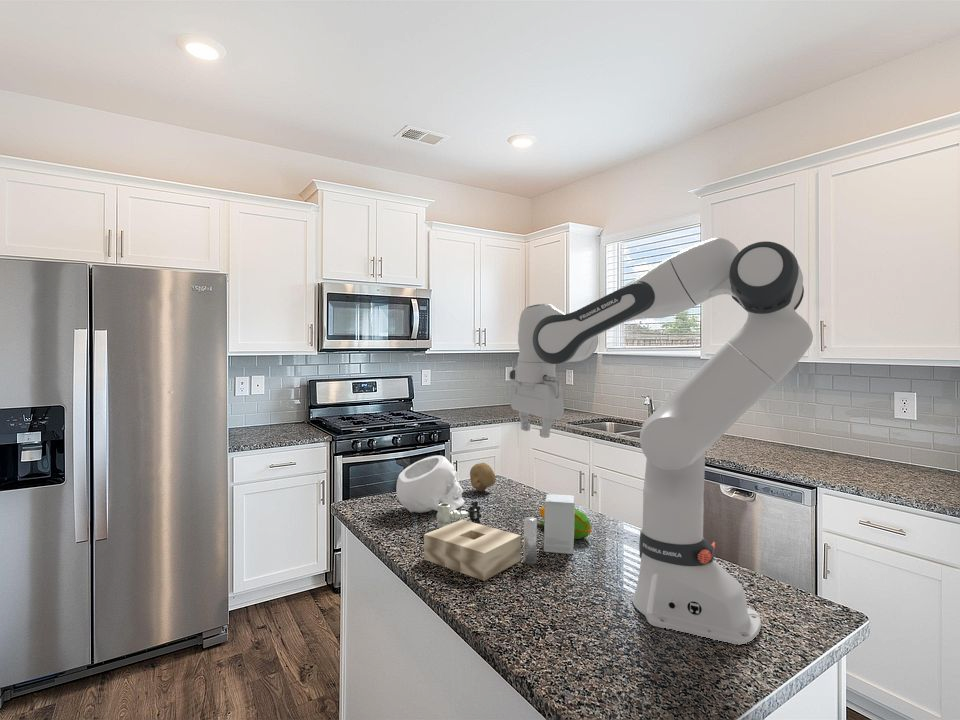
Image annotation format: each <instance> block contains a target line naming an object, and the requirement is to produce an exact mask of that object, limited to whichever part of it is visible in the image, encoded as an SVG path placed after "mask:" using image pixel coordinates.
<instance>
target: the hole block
mask: <svg viewBox="0 0 960 720" xmlns="http://www.w3.org/2000/svg"><path fill="white" fill-rule="evenodd" d="M473 522H474V521H471V520H470V521H469V520H466V519H460V520H457V521H454V522H453V523H450V524H449V525H447V526H444V527H442V528H439V529H434V530H431V531H429V532H427V533H424V534H423V560H424V561H427V562H429V561H430V563H432V564H435V565H439V566H441V567H444V568H446V567H447V568H448V569H450V570H453V571H454V572H455V571H456V572H458V573H461V574H464V575H466V576H469V577H472V578H474V579H478V580H481V581H484V582H486V581H487V580H488V579H490V578H493V577H494V576H496V575H498V574H500V573H502V572H503V571H505V570H506V569H508V568H510V567H512V566H514V565H516V564H518V563H519V562H520V561H521V554H522V553H521V552H522V551H521V548H522V547H521V545H522V543H521V542H522V535H521V534H517V533H513V532H510V531H505V530H503V529H498V528H495V527H491V526H487V525H484V524H481V523H480V524H477V523H473Z"/></svg>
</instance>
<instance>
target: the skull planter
mask: <svg viewBox="0 0 960 720" xmlns="http://www.w3.org/2000/svg"><path fill="white" fill-rule="evenodd" d="M458 477H459V473H458V471H456V470H455V467H454V464H453V463H451V462H450V461H449V460H448V459H447V458H446V457H445V455H444V456H443V455H440V454H439V455H437V454H436V455H431V456H427V457H425V458H422V459H419V460H418V461H415V462H414V463H412V464H410V465H408V466H406V468H404V469H403V470H402V471H401V472H400V473H399V475H398V477H397V480H396V486H395V487H396V496H397V499H398V500H399V501H398V502H400V504H401V505H402V506H403V507H404V508H405V509H406V510H407V511H409V513H411V514H413V513H418V514H422V513H427V512H431V511H432V510H433V511H437V512H438V504H439V503H448V504H450V505H451V510H450V511H452V510H457V509H459V508H462V507H463V505H464V504H465V500H464V499H463V497H462V495H463V494H462V493H464V489H463V488H462V486H461V485H460V483H461V482H460V481H459V480H458ZM412 512H413V513H412Z"/></svg>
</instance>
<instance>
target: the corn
mask: <svg viewBox="0 0 960 720" xmlns="http://www.w3.org/2000/svg"><path fill="white" fill-rule="evenodd" d="M538 510H539V511H538V512H539V515H540V516H541V518H542V519H543V520H544V521H545V505H544V506H542V507H540V508H539V509H538ZM544 521H542V520H538V522H539V523H541V524H542V525H543V526H544ZM592 528H593V527H592V525H591V522H590V519H589V518H588V516H587V514H586V513H584V512H582V511H580V510H578V509H576V508H575V516H574V540H580V539H584V538H587V537H589V535H590V534H591V533H592Z"/></svg>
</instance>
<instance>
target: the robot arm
mask: <svg viewBox="0 0 960 720" xmlns="http://www.w3.org/2000/svg"><path fill="white" fill-rule="evenodd" d="M804 293H805V289H804V275H803V272H802V269H801V267H800V264H799V263H798V260H797V257H796V256H795V254H794V253H793V252H792V251H791V250H790V249H789V248H788V247H786V246H784V245H782V244H780V243H777V242H774V241H766V240H765V241H758V242H755V243H752V244H749V245H747V246H745V247H744V248H742V249H740V250H739V249H738V247H737V246H736V245H735V244H734V243H733V242H732V241H730V240H728V239H726V238H723V237H713V238H710V239H708V240H705V241H702V242H699V243H697V244H694V245H692V246H690V247H688V248H685V249H683V250H681V251H678V252H677V253H675V254H673V255H671V256H670V257H668V258H665V259H664V260H662V261H661V262H659V263H658V264H655V266H653V267H652V268H649V269H648V270H647V271H645V272H644V273H642V274H641V275H639V276H638V277H636V278H634V279H633V280H631V281H629V282H628V283H626V284H625V285H623V286H622V287H620V288H618V289H617V290H614V291H613V292H611V293H609V294H607V295H605V296H603V297H601V298H599V299H597V300H594V301H592V302H591V303H589V304H587V305H585V306H583V307H581V308H579V309H577V310H574V311H572V312H568V313H564V312H563V311H561V310H559V309H558V308H556V307H555V306H554V305H553V304H550V303H540V304H539V303H538V304H533V305H529V306H527V307H526V308H524V309H523V310H522V311H521V314H520V317H519V322H518V331H517V332H518V333H517V336H518V337H517V344H518V351H519V353H518V357H517V365H516V366H515V367H514V368H512V369H511V370H509V372H508V379H509V381H510V383H509V401H510V403H509V404H510V407H511V409H512V410H516V411H518V417H519V421H520V429H521V431H524V432H530V430H531V423H530V421H529V416H530V415H532V416H535V417H536V416H537V417H539V418H541V422H542V426H541V428H540V429H539V436H540V437H541V438H550V434H551V432H550V431H551V428H552V426H553V424H554V420H562V418H564V417H563V416H564V413H565V411H564V410H565V408H564V407H565V406H564V405H565V404H564V395H563V394H564V393H563V388H562V386H561V383H560V382H559V381H558V378H557V377H556V365H558V364H562V363H571V362H572V363H573V362H580V361H584V360H586V359H589V358H590V357H591V356H593V354H594V353H595V351H596V350H597V348H598V344H599V337H598V336H599V335H601V334H602V333H604V332H607V331H609V330H610V329H613V328H615V327H617V326H620V325H622V324H624V323H626V322H628V323H629V322H631V321H635V320H642V319H643V320H644V319H664V318H668V317H671V316H674V315H677V314H680V313H683V312H685V311H688V310H690V309H692V308H695V307H696V306H698V305H699V304H701V303H704V302H706V301H708V300H710V299H711V298H712V299H713V298H715V297H716V296H720V295H722V296H723V295H727V296H729V295H730V296H731V298H732V299H733V300H734V301H735V302H736V303H737V304H738V305H740V306H741V308H743V309H744V310H745V311H746V312H747V318H746V321H745V323H744V324H743V326H742V327H741V328H740V329H739V330H737V332H736V333H735V334H734V335H733V336H732V337H731V338H730V339H729V340H727V342H726V343H724V344H723V345H722V347H721V348H719V350H717V351H716V352H715V353H714V354H713V355H712V356H711V357H710V358H709V359H708V360H707V361H706V362H705V363H704V364H703V365H702V366H701V367H700V368H699V369H698V370H697V371H696V372H695V373H694V374H692V376H691V377H690V378H688V379H687V380H686V381H685V382H684V383H683V384H682V385H681V386H680V387H679V388H678V389H677V390H676V391H675V392H674V393H673V394H672V395H670V397H669V398H667V400H665V401H664V402H663V403H662V404H661V405H660V406H659V407H658V408H657V409H656V410H655V411H654V412H653V413H652V414H651V415H650V416H649V417H647V419H646V420H645V421H644V422H643V424H642V426H641V428H640V432H639V443H640V447H641V451H642V453H643V454H644V456H645V458H646V459H645V460H646V462H645V474H644V482H643V488H642V526H641V527H642V529H640V531H639V540H638V541H639V543H638V544H639V545H638V551H639V558H640V565H639V571H638V578H637V583H636V587H635V590H634V593H633V597H632V603H633V605H634V607H635V608H636V610H638V611H639V612H640V613H641V614H642V615H644V617H645V619H646V620H647V621H646V622H648V623H649V624H650V625H651V626H653V627H656V628H661V629H664V628H666V630H669V629H673V630H678V631H681V632H686V633H690V634H694V635H697V636H696V637H698V636H701V637H700V638H702V637H706V638H710V639H713V640H712V641H715V640H718V641H717V642H719V641H724V642H728V643H732V644H738V645H740V644H744V643H747V642H750V641H752V640H753V639H754V638H755V637H756V636H757V635H758V636H759V634H760V633H761V632H760V631H761V630H760V629H762V624H761V617H760V615H759V614H758V612H757V611H756V610H754V609H752V608H749V607H748V603H747V602H748V601H747V597H746V596H747V595H746V593H745V589H744V588H743V586H742V584H741V583H740V582H739V581H738V580H737V579H736V578H734V577H733V576H732V575H731V574H730V573H729V572H728V571H727V570H726V569H724V568H723V567H722V566H721V565H720V564H719V563H718V562H717V561H716V560H714V558H715V550H716V542H715V541H713V542H712V543H710V542H709V541H708V540H707V539H706V538H705V537H704V506H705V505H704V504H705V503H704V500H705V499H704V496H705V495H704V493H705V473H706V472H705V470H706V468H705V467H706V452H707V451H708V450H709V449H710V448H711V447H712V446H714V444H715V443H716V442H717V441H718V440H719V439H720V438H721V437H722V436H724V434H725V433H726V432H727V431H728V430H729V429H730V428H731V427H732V426H733V425H734V424H735V423H736V422H737V421H738V420H739V419H740V418H741V417H742V416H743V415H744V414H745V413H746V412H747V411H748V410H749V409H751V408H752V407H753V406H755V404H756V403H757V402H759V400H760V399H762V398H763V397H764V396H765V395H766V394H767V393H768V392H770V391H771V390H772V389H773V388H775V386H776V385H777V384H778V383H779V382H780V381H781V380H782V379H784V378H785V377H786V376H787V375H788V374H789V372H791V370H793V368H794V367H795V366H796V365H797V364H798V363H799V361H800V360H801V359H802V358H803V357H804V355H805V354H806V352H807V351H808V349H809V348H810V347H811V345H812V343H813V338H814V335H813V331H812V328H811V327H810V325H809V323H808V322H807V321H806V320H805V319H804V318H803V317H802V316H801V315H800V314H798V312H797V311H796V310H797V309H798V308H799V307H800V305H801V303H802V301H803V298H804ZM673 630H672V631H673ZM681 632H680V633H681ZM759 632H760V633H759ZM690 634H689V635H690ZM694 635H693V636H694ZM758 636H757V637H758ZM757 637H756V638H757ZM706 638H705V639H706ZM710 639H709V640H710ZM753 641H754V640H753ZM753 641H752V642H753ZM750 643H751V642H750Z"/></svg>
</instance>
